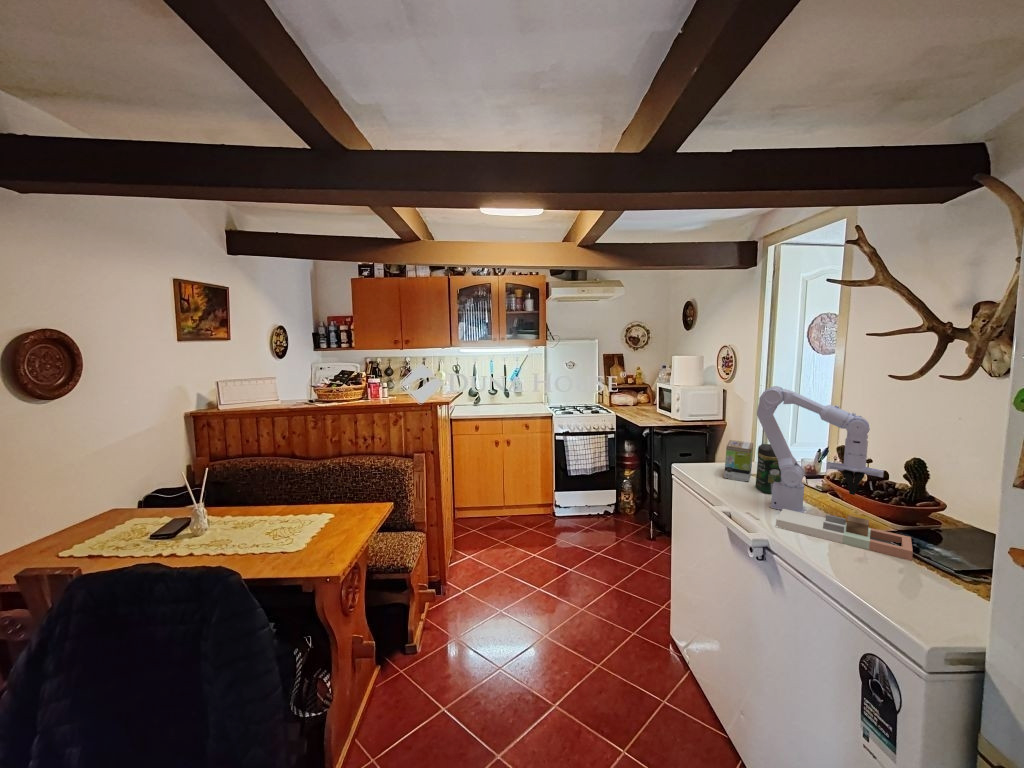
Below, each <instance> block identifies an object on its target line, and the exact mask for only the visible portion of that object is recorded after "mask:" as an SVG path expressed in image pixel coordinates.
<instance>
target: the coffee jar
mask: <svg viewBox="0 0 1024 768" xmlns="http://www.w3.org/2000/svg"><path fill="white" fill-rule="evenodd" d="M757 447H758V448H757V466H756V477H755V487H756V488H757V489H758V490H759V491H761V492H762V493H765V494H769V495H772V487H773V483H774V482H780V481H781V471H780V468H779V464H778V460H777V458H776V455H775V453H774V451H773V449H772V447H771V445H770V443H769V444H768V443H761V444H760V445H759V446H757Z"/></svg>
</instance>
